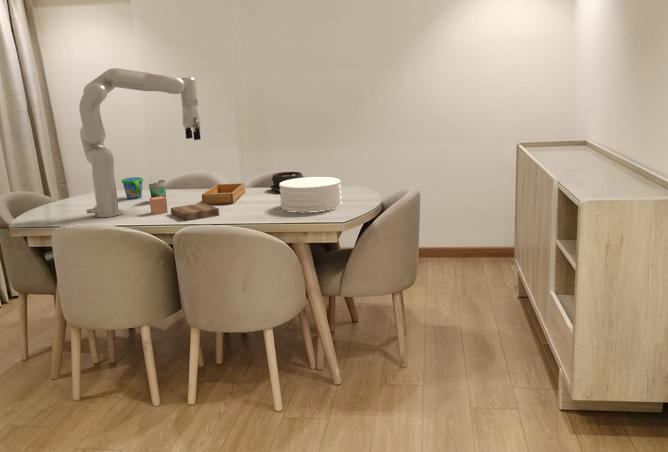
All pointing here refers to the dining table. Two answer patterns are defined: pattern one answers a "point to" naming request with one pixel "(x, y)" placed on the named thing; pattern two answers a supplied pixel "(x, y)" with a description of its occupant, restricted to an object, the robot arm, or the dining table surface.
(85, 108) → the robot arm
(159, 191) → the food container
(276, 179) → the casserole
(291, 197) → the plate stack
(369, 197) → the dining table surface
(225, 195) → the tray
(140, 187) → the snack cup
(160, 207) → the terracotta block
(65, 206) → the dining table surface
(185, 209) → the walnut base
